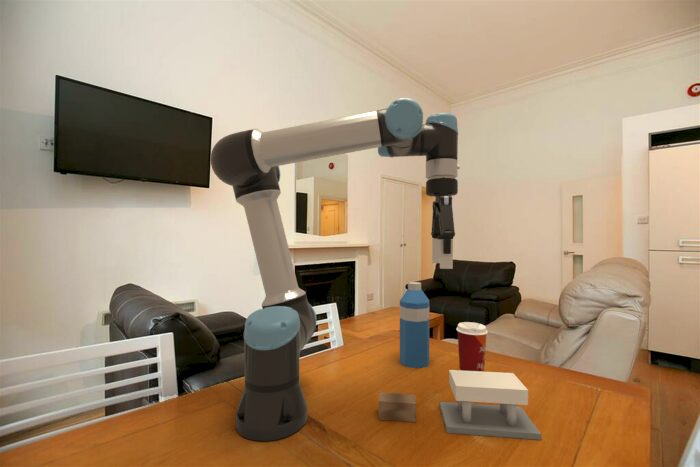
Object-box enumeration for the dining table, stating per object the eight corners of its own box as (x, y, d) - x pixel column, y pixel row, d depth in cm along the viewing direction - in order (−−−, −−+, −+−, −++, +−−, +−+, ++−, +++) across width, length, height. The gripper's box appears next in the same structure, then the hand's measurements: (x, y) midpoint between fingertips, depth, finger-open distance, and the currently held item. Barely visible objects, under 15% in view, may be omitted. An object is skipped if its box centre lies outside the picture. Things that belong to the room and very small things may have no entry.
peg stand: (447, 432, 66) (447, 402, 66) (439, 406, 76) (439, 380, 76) (541, 439, 64) (541, 408, 64) (520, 412, 74) (521, 384, 74)
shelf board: (456, 400, 67) (456, 386, 67) (449, 382, 75) (449, 369, 75) (528, 405, 65) (528, 390, 65) (513, 386, 73) (513, 373, 73)
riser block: (378, 419, 71) (378, 401, 71) (379, 409, 75) (379, 392, 75) (415, 422, 70) (415, 403, 70) (414, 412, 74) (414, 394, 74)
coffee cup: (490, 387, 86) (490, 330, 86) (458, 384, 87) (458, 328, 87) (484, 373, 94) (484, 322, 94) (454, 371, 96) (454, 320, 96)
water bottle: (432, 368, 98) (433, 285, 98) (401, 368, 98) (401, 285, 98) (426, 356, 107) (426, 280, 107) (397, 356, 107) (397, 280, 107)
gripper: (469, 169, 67) (469, 271, 67) (448, 186, 92) (448, 261, 92) (432, 169, 68) (432, 271, 68) (421, 186, 93) (421, 261, 93)
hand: (441, 265), depth 80 cm, fingers open, 13 cm apart
